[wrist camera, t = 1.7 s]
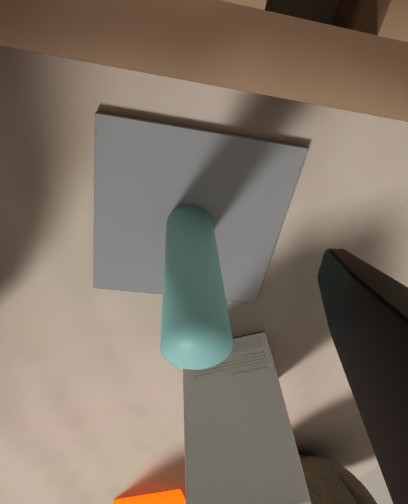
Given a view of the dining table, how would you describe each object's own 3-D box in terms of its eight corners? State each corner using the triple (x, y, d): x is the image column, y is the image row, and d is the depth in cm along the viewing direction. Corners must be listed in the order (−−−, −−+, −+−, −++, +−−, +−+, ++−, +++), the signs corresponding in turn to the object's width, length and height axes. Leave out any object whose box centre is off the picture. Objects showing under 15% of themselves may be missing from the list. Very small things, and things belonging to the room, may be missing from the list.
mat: (254, 299, 27) (255, 302, 27) (94, 284, 25) (93, 287, 25) (305, 146, 21) (308, 148, 20) (96, 111, 19) (95, 113, 19)
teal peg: (208, 247, 24) (224, 371, 16) (163, 242, 23) (156, 367, 15) (217, 207, 22) (240, 323, 14) (169, 201, 22) (164, 316, 13)
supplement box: (180, 348, 30) (182, 528, 19) (266, 329, 29) (316, 504, 19) (201, 397, 34) (212, 568, 24) (277, 382, 33) (323, 550, 23)
